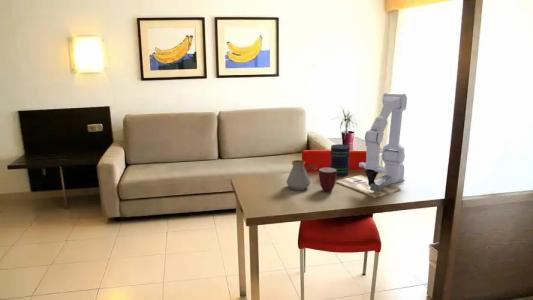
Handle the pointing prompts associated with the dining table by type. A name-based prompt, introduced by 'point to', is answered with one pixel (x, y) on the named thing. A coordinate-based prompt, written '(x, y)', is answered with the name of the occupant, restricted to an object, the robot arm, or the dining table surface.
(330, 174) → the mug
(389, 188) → the label board
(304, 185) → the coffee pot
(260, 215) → the dining table surface
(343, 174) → the storage jar
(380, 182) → the grey square pillar
